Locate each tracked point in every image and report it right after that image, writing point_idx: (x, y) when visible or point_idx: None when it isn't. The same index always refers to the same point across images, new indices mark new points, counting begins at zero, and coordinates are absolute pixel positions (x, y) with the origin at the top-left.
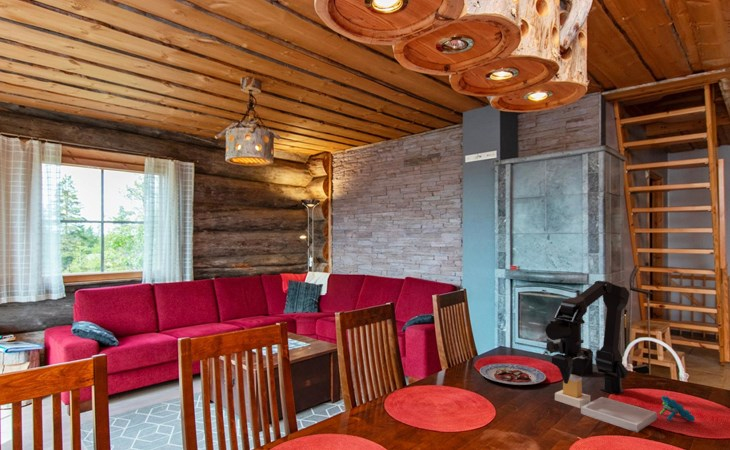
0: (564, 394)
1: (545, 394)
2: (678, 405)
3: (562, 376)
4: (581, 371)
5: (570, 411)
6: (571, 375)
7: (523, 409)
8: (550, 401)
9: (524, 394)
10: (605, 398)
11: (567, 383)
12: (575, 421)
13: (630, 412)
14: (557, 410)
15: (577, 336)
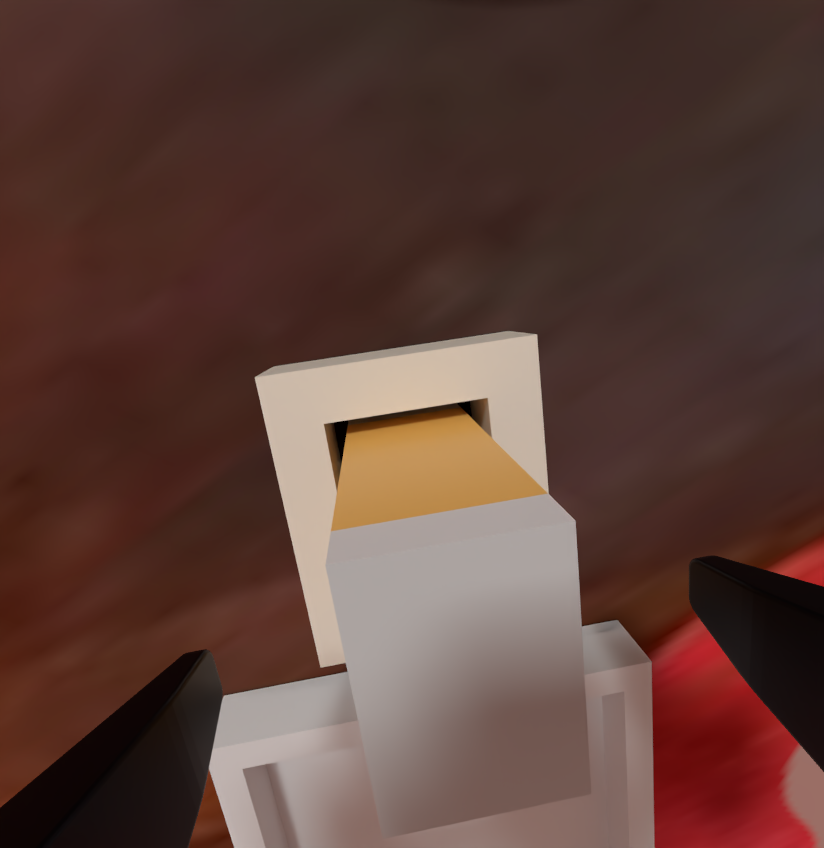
0: (330, 470)
1: (322, 180)
2: None
3: (50, 784)
4: (817, 737)
5: (179, 626)
6: (496, 657)
7: None
8: (196, 367)
9: (47, 6)
10: (628, 703)
11: (216, 698)
12: (41, 772)
13: (579, 840)
14: (72, 561)
15: None
